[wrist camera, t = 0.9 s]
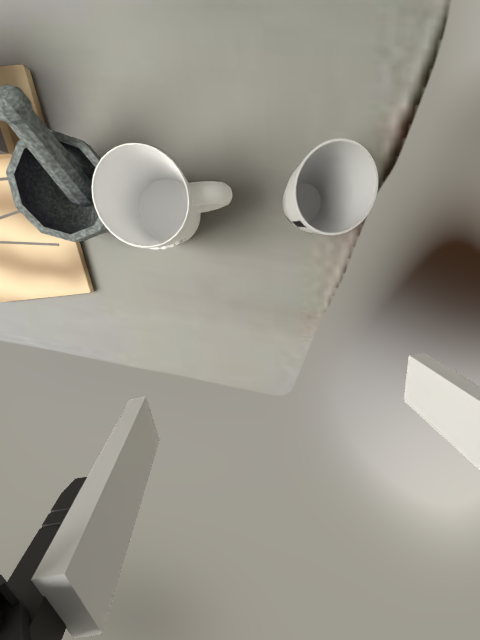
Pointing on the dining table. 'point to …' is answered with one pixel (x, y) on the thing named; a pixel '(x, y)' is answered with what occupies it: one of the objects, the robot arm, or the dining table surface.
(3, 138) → the block
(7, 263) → the board
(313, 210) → the cup
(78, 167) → the mortar and pestle
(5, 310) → the dining table surface
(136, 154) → the mug
